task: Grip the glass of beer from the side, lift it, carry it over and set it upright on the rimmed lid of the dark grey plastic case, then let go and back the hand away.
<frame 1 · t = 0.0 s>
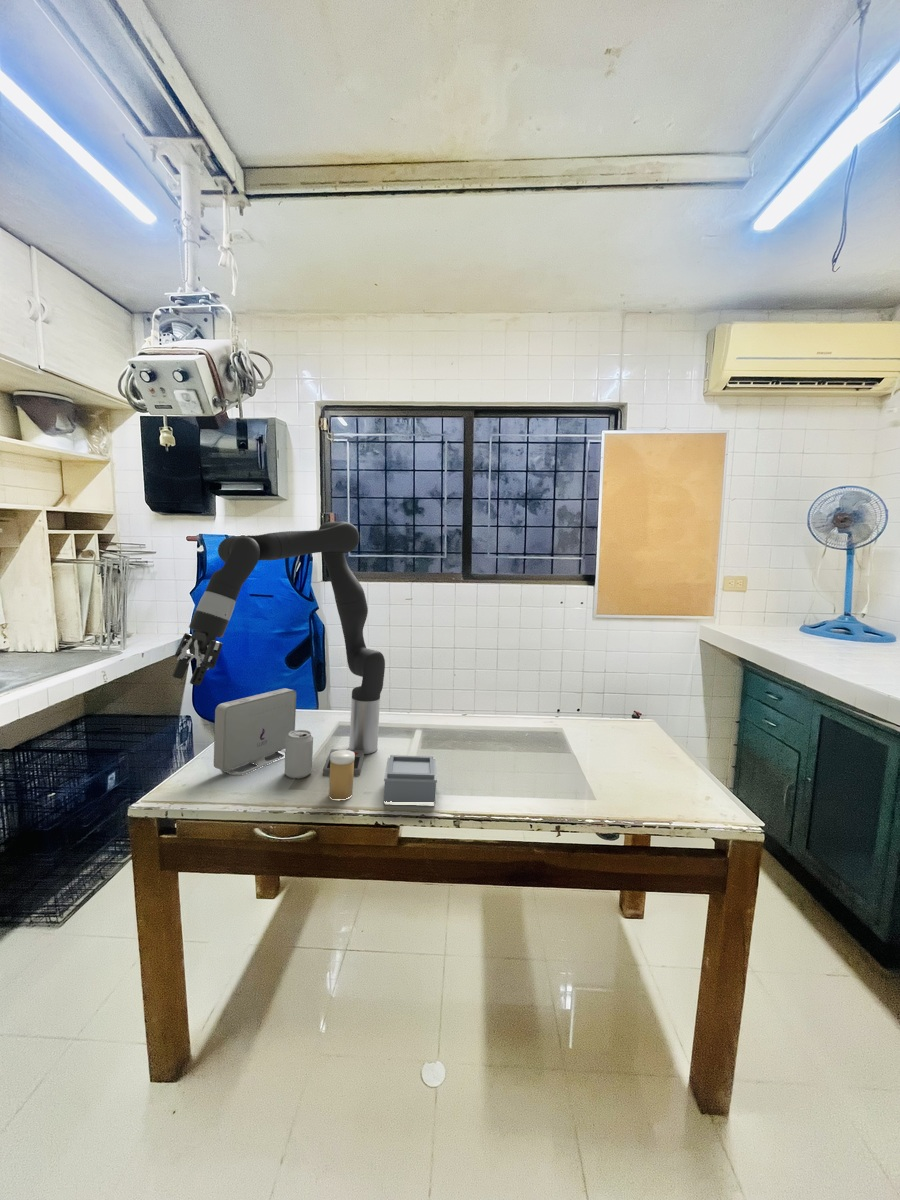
hand: (185, 681, 106), 31 cm above the table, tool tilted 20°, fingers open, 8 cm apart
network device: (256, 763, 139), on the table
electronic device: (344, 766, 141), on the table
grey case: (409, 793, 125), on the table
glass of beer: (340, 795, 121), on the table
can: (298, 774, 133), on the table
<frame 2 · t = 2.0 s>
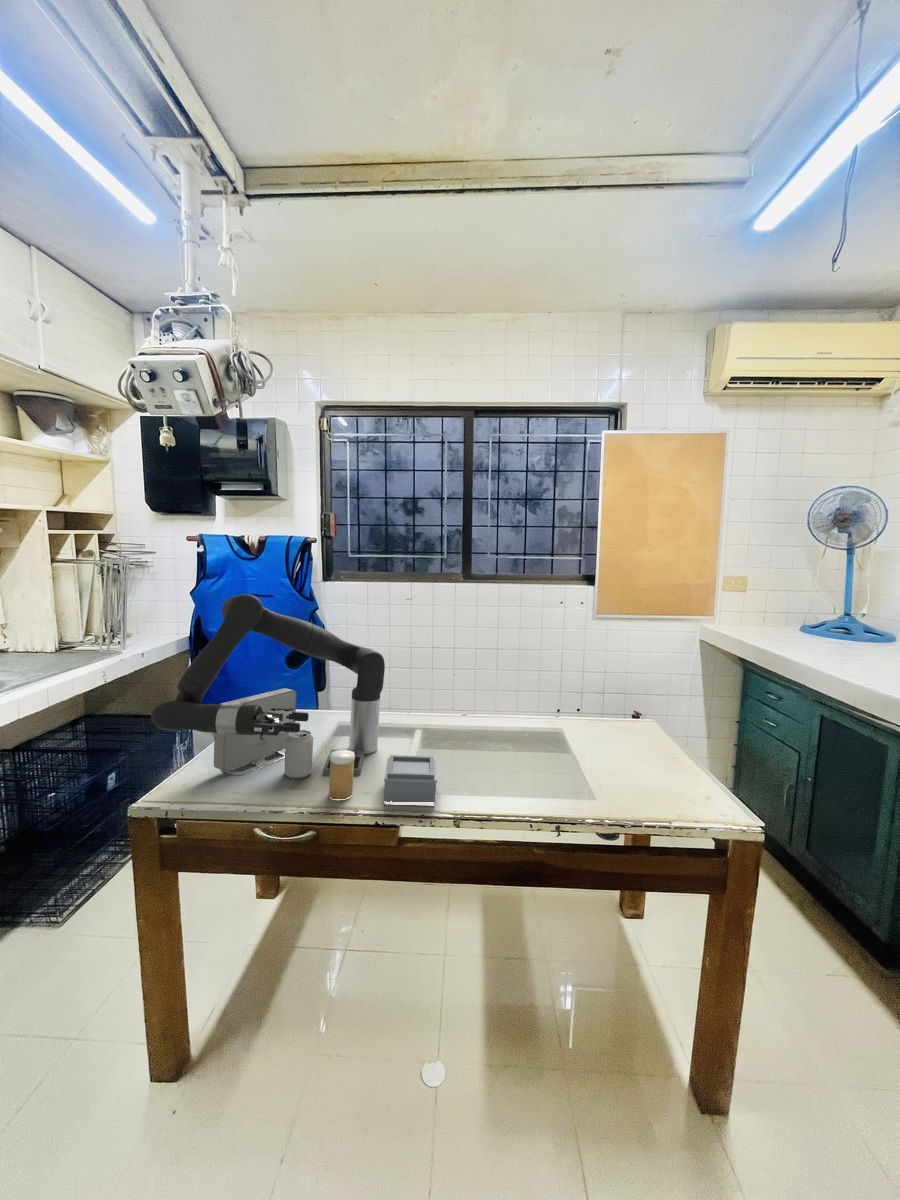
hand: (304, 722, 120), 19 cm above the table, tool horizontal, fingers open, 8 cm apart
nothing on the table moved.
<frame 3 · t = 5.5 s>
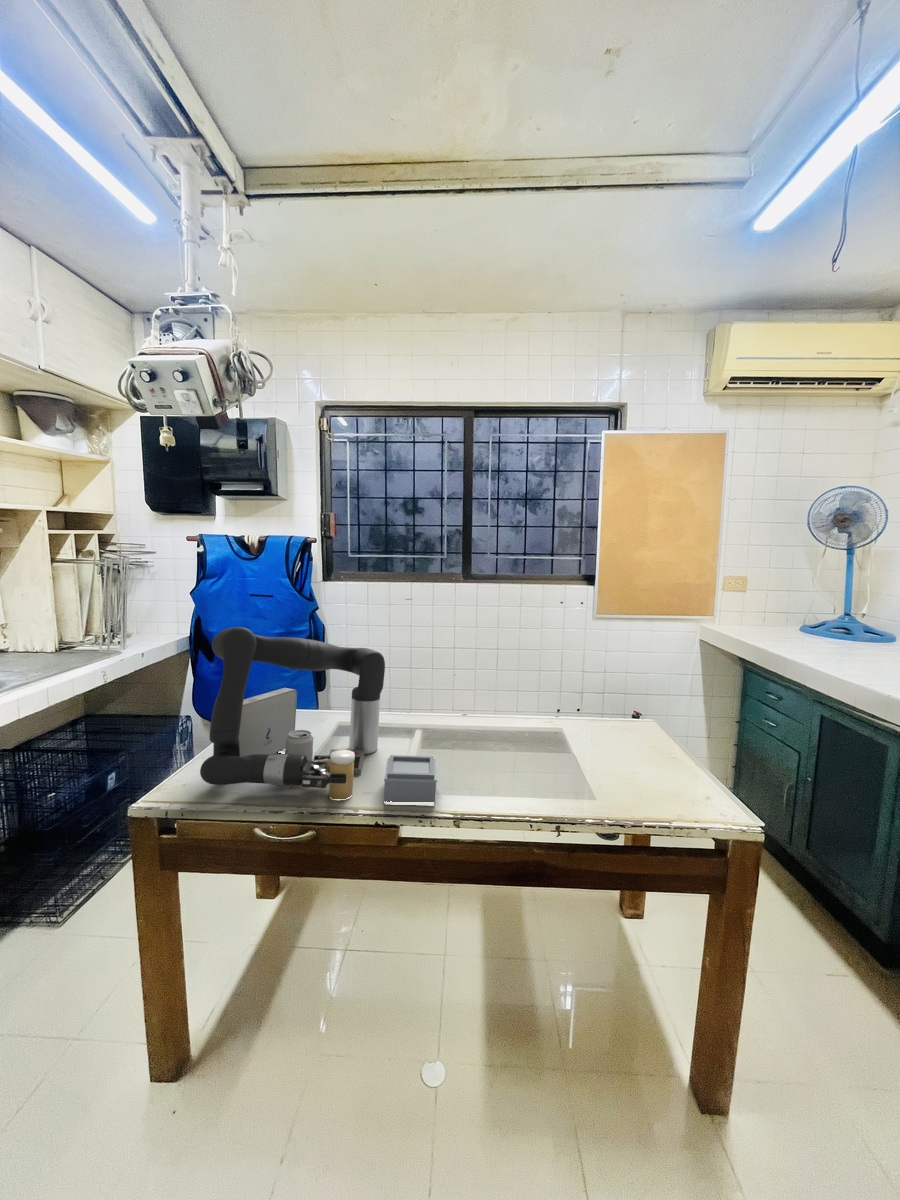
hand: (349, 771, 121), 6 cm above the table, tool horizontal, fingers open, 8 cm apart
network device: (260, 763, 138), on the table, touching arm
everything else where it was.
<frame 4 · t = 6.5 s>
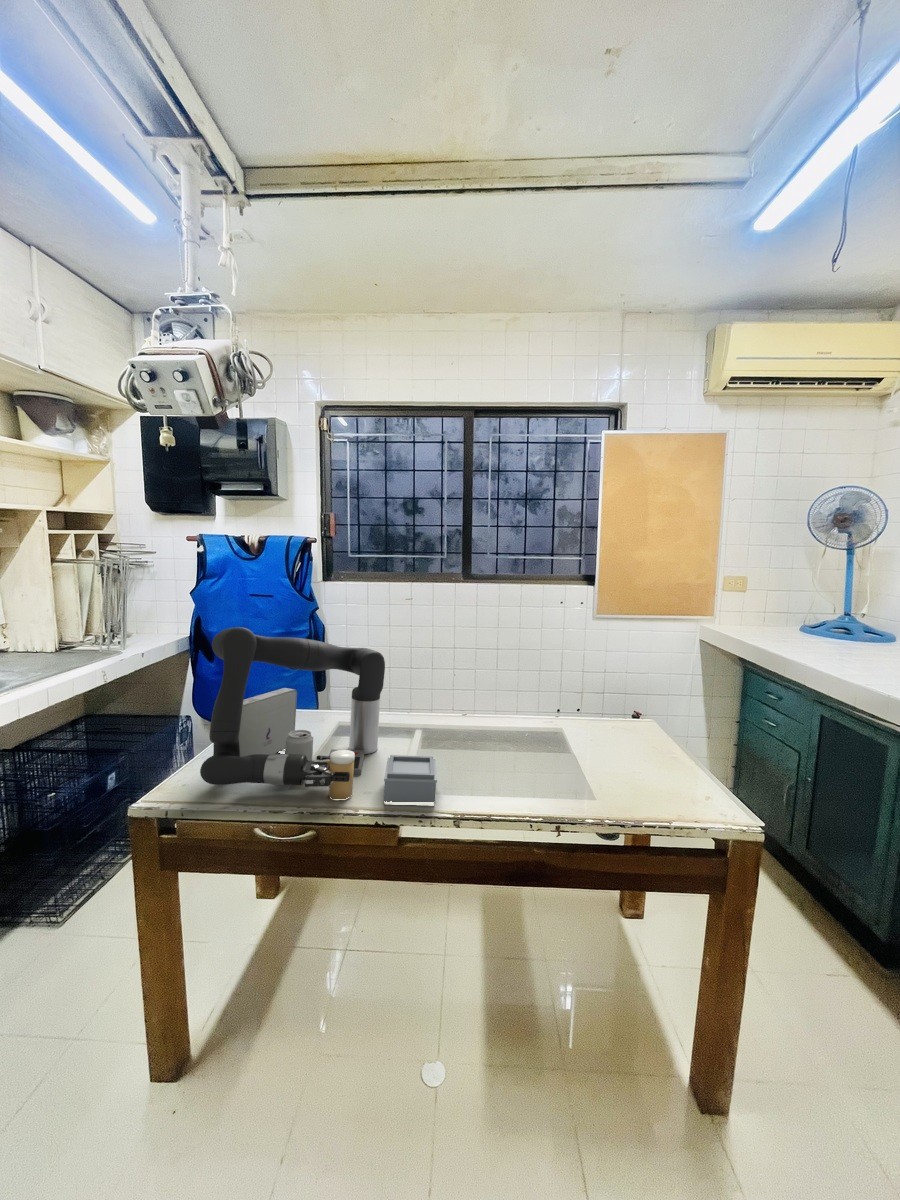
hand: (351, 771, 121), 7 cm above the table, tool horizontal, fingers closed on glass of beer, 6 cm apart
glass of beer: (340, 795, 121), on the table, touching gripper
everything else where it was.
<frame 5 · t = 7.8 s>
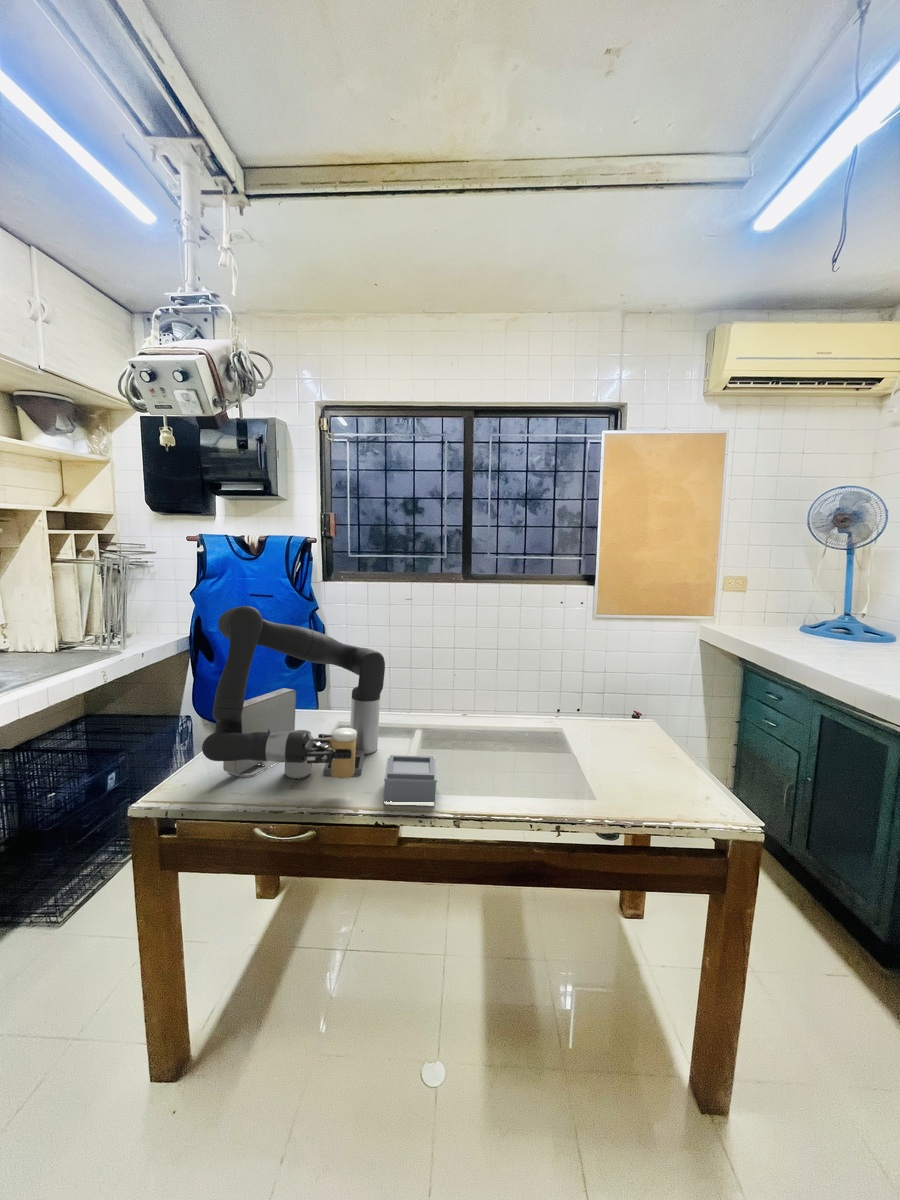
hand: (353, 748, 121), 12 cm above the table, tool horizontal, fingers closed on glass of beer, 6 cm apart
network device: (260, 764, 138), on the table
glass of beer: (342, 773, 121), point 6 cm above the table, touching gripper
everything else where it was.
when the fingers open (14 cm above the table, at t = 14.0 s): glass of beer stays where it is, resting on grey case.
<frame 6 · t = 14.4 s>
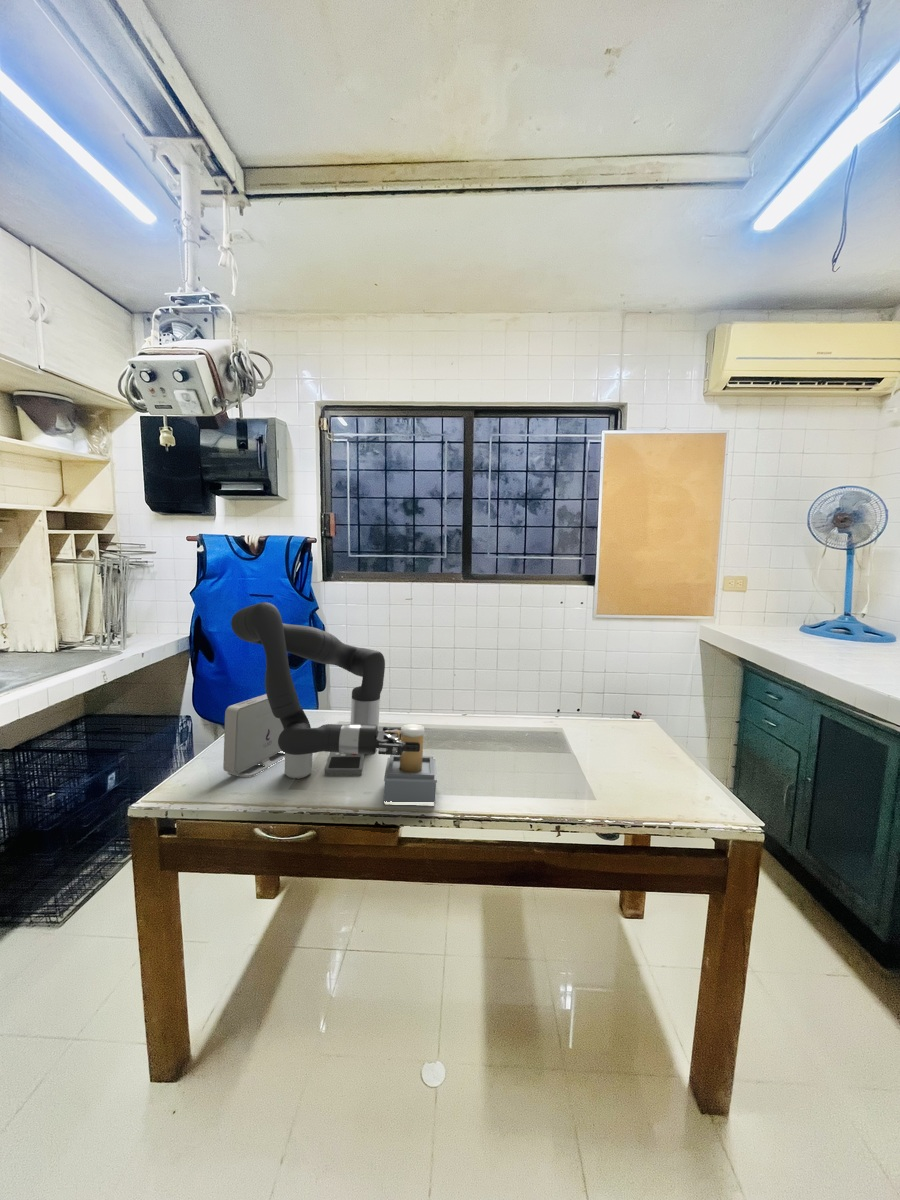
hand: (419, 741, 124), 15 cm above the table, tool horizontal, fingers open, 8 cm apart
glass of beer: (410, 768, 124), point 7 cm above the table, touching grey case
everything else where it was.
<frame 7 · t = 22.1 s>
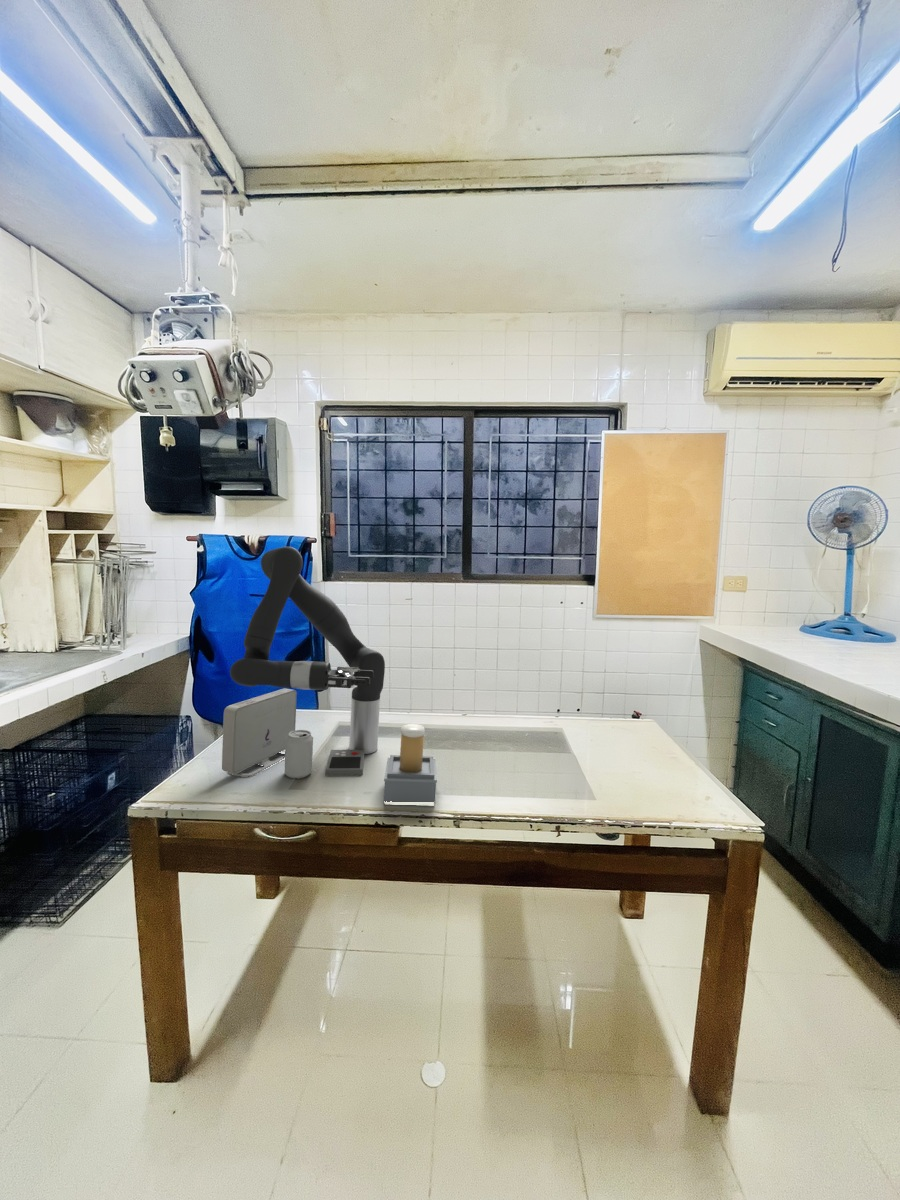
hand: (371, 678, 126), 30 cm above the table, tool horizontal, fingers open, 8 cm apart
nothing on the table moved.
at the end: glass of beer inside the target area on the grey case (0.1 cm from its centre), point 7.0 cm above the grey case's base; glass of beer tilted 1°; the gripper is holding nothing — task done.
